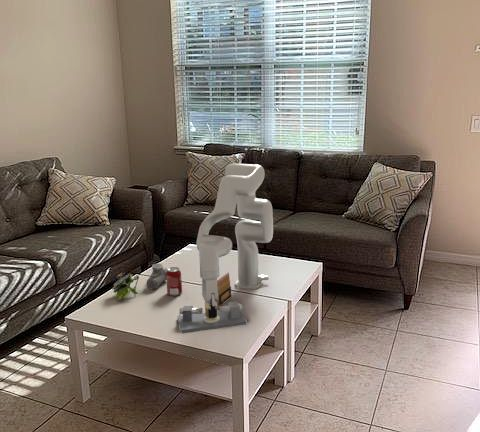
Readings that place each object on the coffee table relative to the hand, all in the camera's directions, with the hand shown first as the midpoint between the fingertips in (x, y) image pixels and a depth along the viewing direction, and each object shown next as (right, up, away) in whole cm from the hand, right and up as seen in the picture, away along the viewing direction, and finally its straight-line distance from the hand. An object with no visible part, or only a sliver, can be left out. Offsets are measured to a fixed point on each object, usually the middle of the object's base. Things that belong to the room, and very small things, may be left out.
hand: (211, 314), depth 205 cm
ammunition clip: (+4, +2, +20) cm, 20 cm away
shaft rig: (0, -3, +1) cm, 3 cm away
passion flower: (-40, +3, +27) cm, 48 cm away
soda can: (-18, +4, +28) cm, 34 cm away
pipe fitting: (-28, +6, +38) cm, 48 cm away
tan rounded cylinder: (0, -1, 0) cm, 1 cm away
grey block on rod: (-8, -2, +1) cm, 8 cm away
